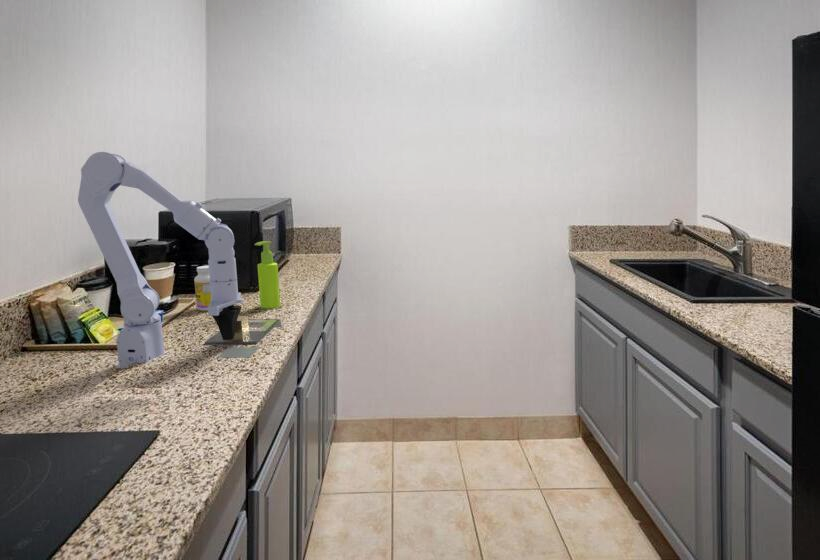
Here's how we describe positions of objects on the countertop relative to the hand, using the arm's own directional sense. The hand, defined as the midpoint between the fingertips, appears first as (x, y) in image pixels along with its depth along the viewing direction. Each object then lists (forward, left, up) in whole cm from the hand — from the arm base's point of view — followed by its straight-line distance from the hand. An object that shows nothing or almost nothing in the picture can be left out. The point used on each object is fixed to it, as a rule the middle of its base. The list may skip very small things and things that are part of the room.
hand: (228, 339), depth 123 cm
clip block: (+5, 0, -1) cm, 5 cm away
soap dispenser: (+44, +4, -3) cm, 45 cm away
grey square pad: (-5, -4, -3) cm, 7 cm away
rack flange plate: (+11, 0, -3) cm, 12 cm away
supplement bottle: (+42, +22, -3) cm, 48 cm away
